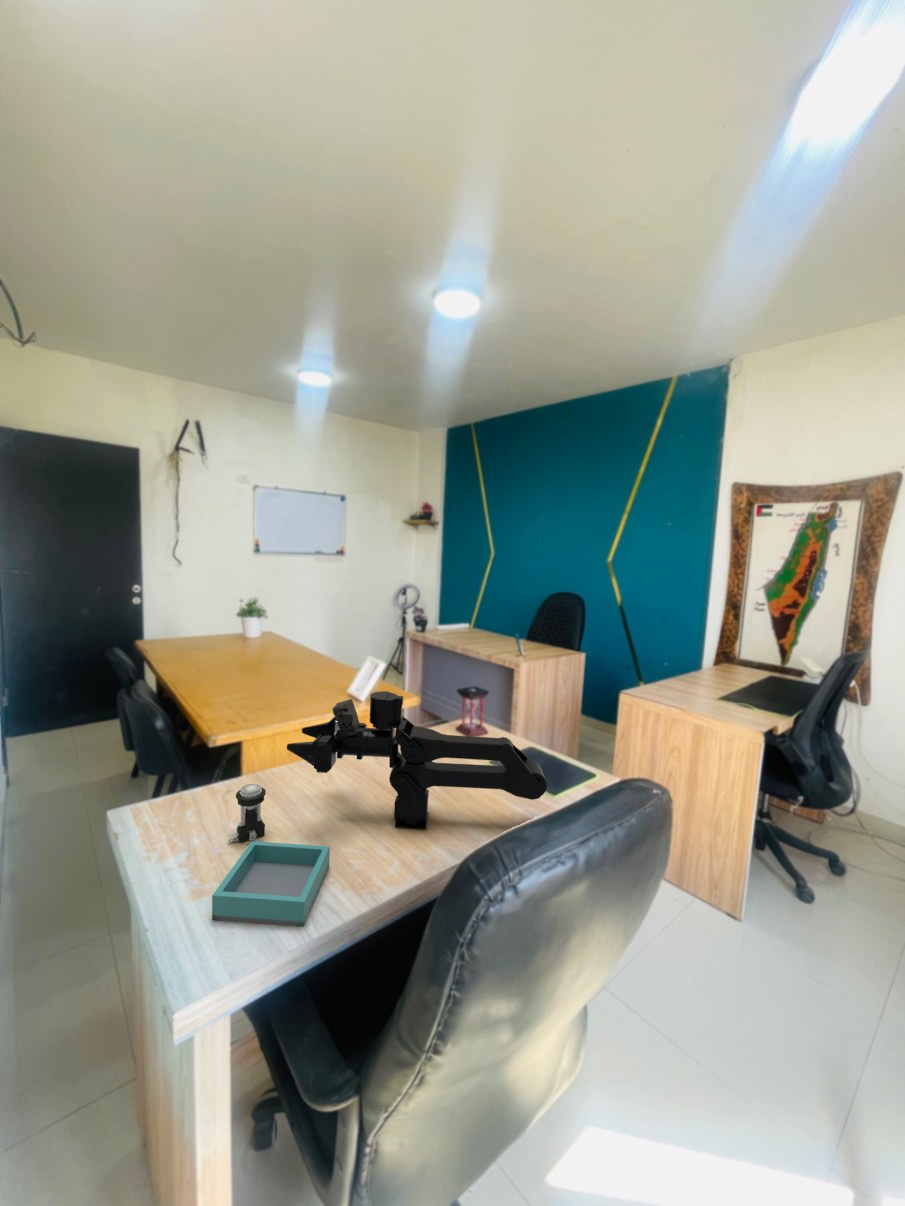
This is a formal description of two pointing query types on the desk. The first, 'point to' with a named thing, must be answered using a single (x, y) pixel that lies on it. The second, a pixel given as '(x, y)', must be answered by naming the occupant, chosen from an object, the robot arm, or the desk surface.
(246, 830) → the push button
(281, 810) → the desk surface
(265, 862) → the tray
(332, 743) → the robot arm
